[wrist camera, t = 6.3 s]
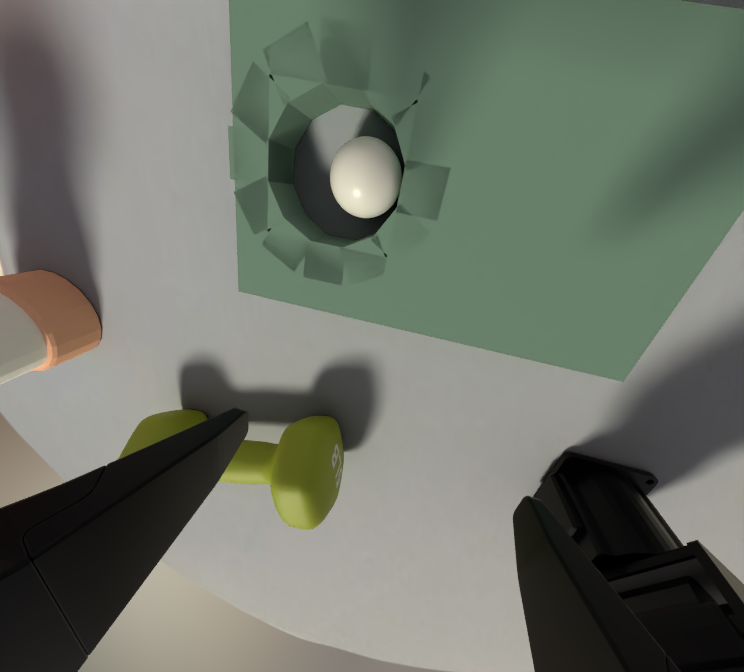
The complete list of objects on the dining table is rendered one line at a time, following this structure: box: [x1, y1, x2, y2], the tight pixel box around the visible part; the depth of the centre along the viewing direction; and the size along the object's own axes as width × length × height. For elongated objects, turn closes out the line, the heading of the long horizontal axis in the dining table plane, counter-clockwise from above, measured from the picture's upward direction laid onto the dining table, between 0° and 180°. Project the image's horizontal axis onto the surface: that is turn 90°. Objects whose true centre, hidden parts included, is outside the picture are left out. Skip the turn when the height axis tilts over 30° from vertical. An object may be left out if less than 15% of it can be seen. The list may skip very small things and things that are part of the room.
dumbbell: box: [119, 410, 344, 529], centre depth 23 cm, size 16×8×7 cm, turn 94°
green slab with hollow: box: [228, 0, 744, 382], centre depth 14 cm, size 22×14×3 cm, turn 80°
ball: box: [330, 136, 402, 218], centre depth 15 cm, size 4×4×4 cm
